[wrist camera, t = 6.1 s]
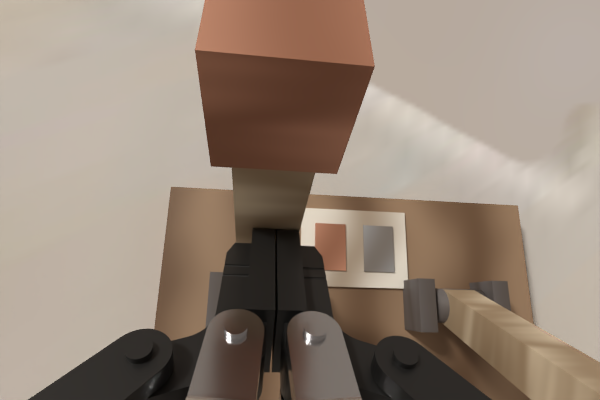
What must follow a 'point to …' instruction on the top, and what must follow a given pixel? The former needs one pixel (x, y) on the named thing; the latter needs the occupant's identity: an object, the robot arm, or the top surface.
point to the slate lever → (518, 347)
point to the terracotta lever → (280, 98)
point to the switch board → (361, 269)
